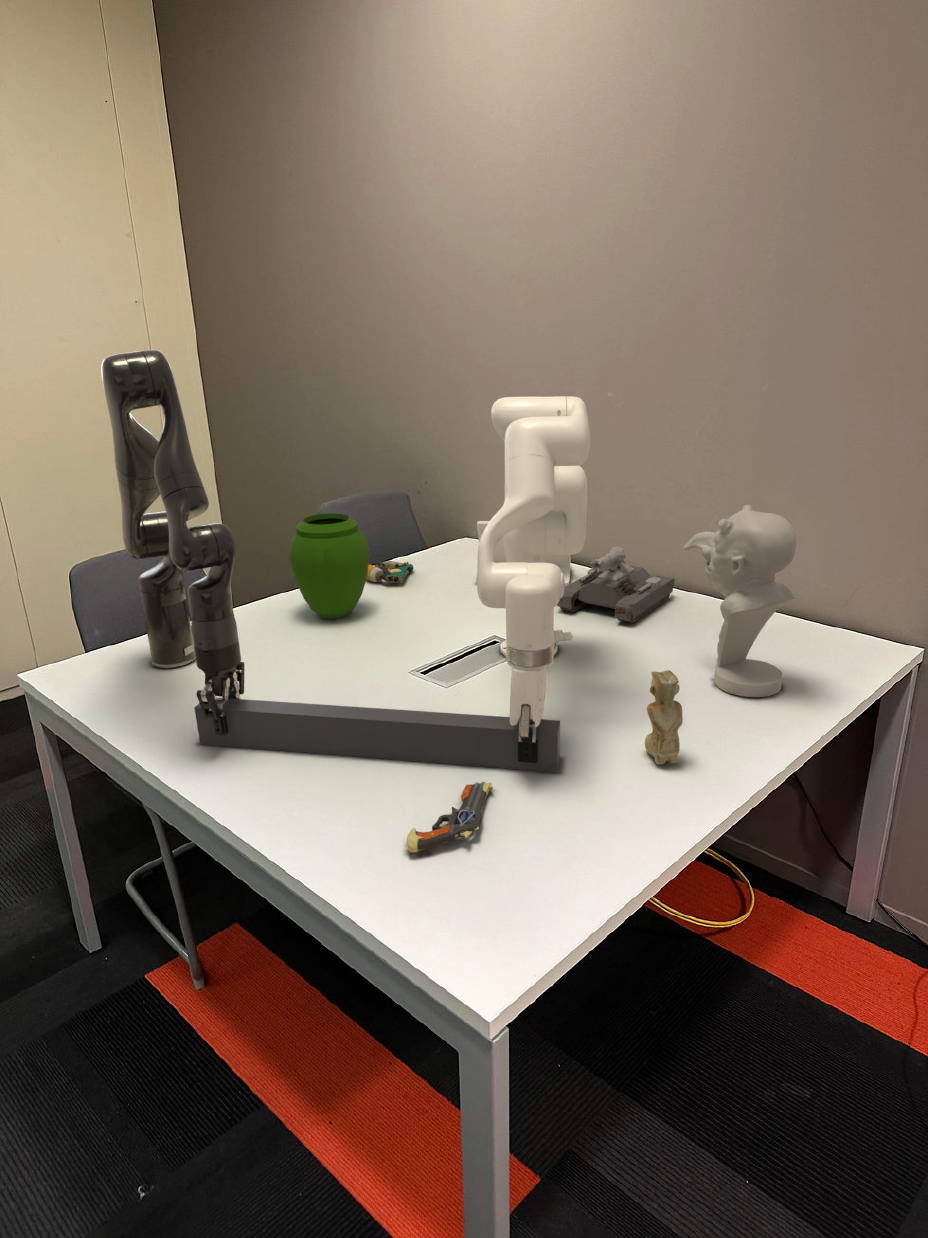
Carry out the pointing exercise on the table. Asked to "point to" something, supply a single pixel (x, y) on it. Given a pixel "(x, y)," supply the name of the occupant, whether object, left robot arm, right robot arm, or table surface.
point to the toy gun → (454, 820)
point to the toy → (617, 588)
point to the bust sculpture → (747, 593)
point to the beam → (380, 734)
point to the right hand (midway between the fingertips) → (529, 752)
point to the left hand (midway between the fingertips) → (228, 727)
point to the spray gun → (389, 571)
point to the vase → (329, 563)
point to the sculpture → (664, 718)
